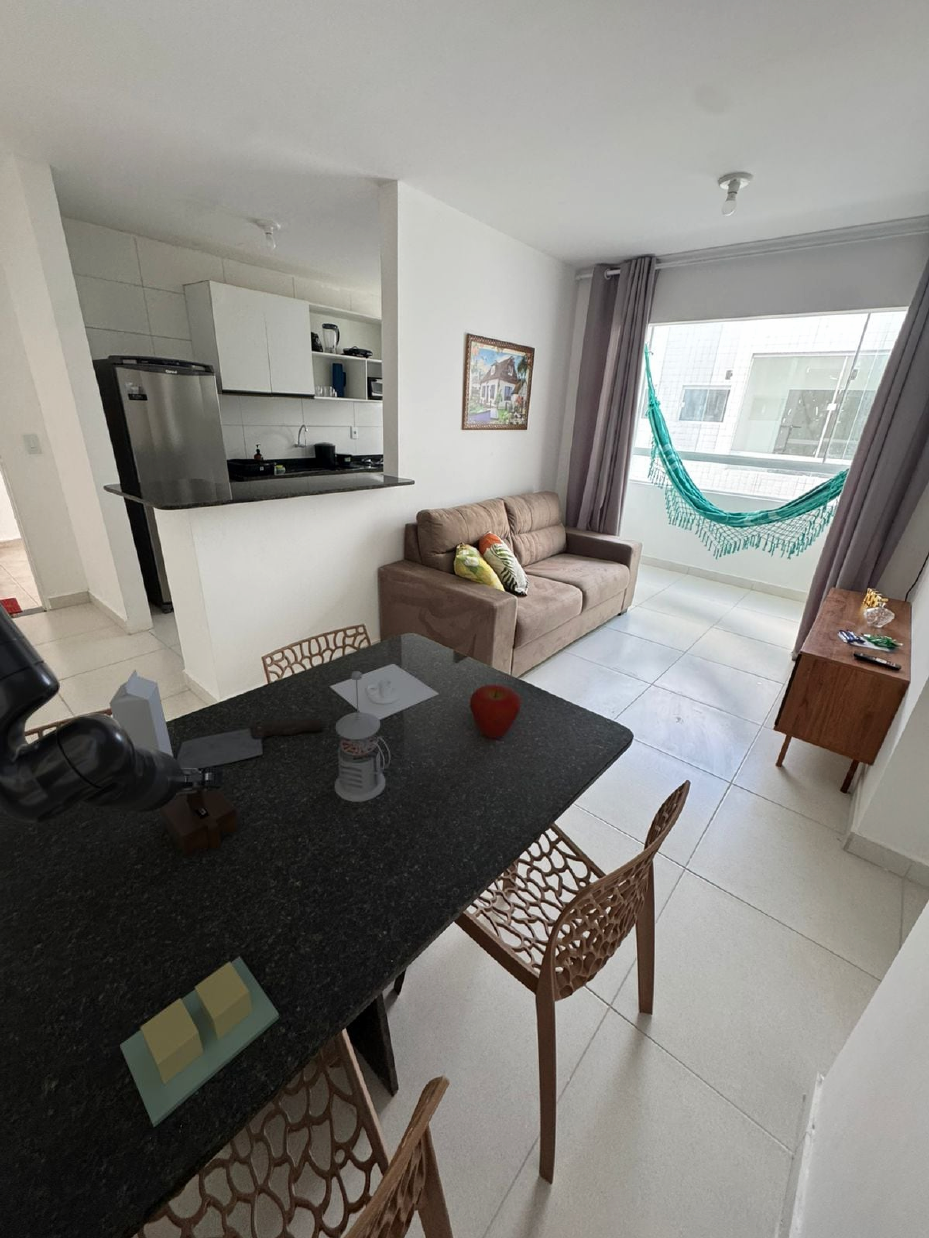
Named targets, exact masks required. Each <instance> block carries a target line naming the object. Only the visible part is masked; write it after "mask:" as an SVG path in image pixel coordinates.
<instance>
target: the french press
mask: <svg viewBox="0 0 929 1238" xmlns="http://www.w3.org/2000/svg"><path fill="white" fill-rule="evenodd" d="M362 675H363V674H362V672H361V671H359V670H354V671H353V672H351V675H350V677H351V678H350V679H353V680H356V695H357V709H356V712H351V713H348V714H346V715H344V716H342V717H341V718H340V719H339V720H338V721H337V722H336V724H335V730H336V733H337V735H339V736H340V737H341V739H340V741H339V745H338V746H339V748H338V751H337V762H338V777H337V778H336V779H335V782H334V786H333V787H334V790H335V793H336V795H338V796H339V797H340V798H341V799H343V800H346V801H349V802H365V801H366V802H367V801H369V800H372V799H374V798H376V797H377V796H378V795H380V794H382V791H384V789H385V787H386V780H387V779H386V778H385V775H384V774H383V771H384V770H385V769H386V768H388V767H389V766H390V764H391V751H390V749H389V746H388V745H387V743H386V741H385V740H384V739H383V738H382V737H381V736H376V734H377V732H378V731H379V730H380V729H381V728H380V727H381V721H380V720H379V719H378V718H377V717H375V716H374V715H372V714H369V713H361V712H359V711H358V690H357V680H360V679H361V678H362ZM379 739H380V741H382V742H383V744H384V746H385V748H386V750H387V753H388V763H387V764H385V761H386V760H385V756H384V753H383V751H382V749H381V746H380V744H379ZM371 755H372V756H371ZM367 756H370V757H367ZM381 756H382V767H381ZM361 757H365V758H361ZM354 758H357V759H354ZM358 758H359V759H358Z"/></svg>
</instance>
